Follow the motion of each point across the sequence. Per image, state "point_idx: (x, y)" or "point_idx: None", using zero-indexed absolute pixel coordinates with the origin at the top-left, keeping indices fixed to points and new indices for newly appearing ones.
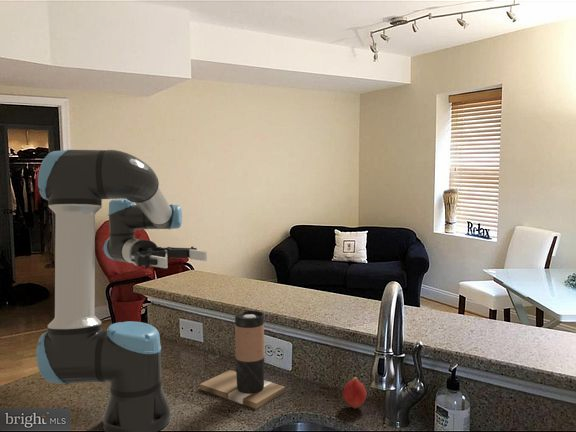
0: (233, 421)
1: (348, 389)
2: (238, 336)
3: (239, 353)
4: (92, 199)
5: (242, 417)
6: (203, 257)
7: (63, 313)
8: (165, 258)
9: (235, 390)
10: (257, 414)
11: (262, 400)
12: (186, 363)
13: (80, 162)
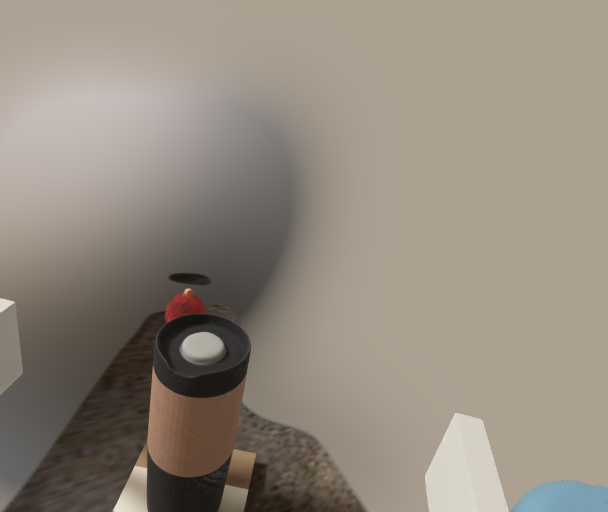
0: (321, 480)
1: (201, 308)
2: (240, 402)
3: (235, 435)
4: None
5: (298, 472)
6: (11, 356)
7: None
8: (475, 420)
9: None
10: (272, 452)
11: (234, 450)
12: None
13: None
